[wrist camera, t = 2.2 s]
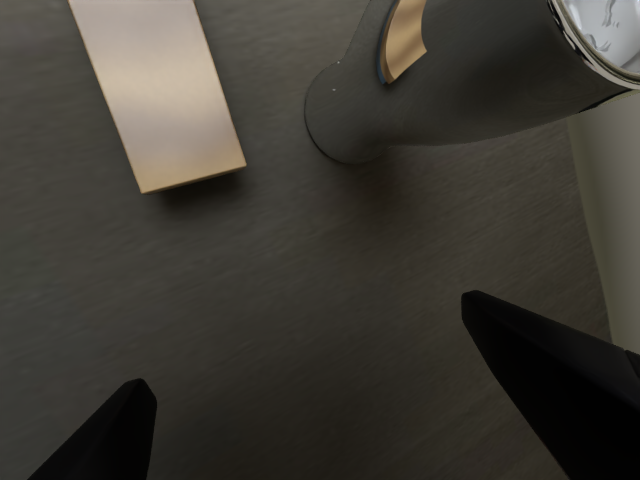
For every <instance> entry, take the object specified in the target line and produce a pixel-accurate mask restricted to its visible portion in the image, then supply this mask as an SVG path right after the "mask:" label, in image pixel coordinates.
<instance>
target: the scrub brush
mask: <svg viewBox="0 0 640 480" xmlns="http://www.w3.org/2000/svg"><path fill="white" fill-rule="evenodd" d="M67 2H68V4H69V7H70V10H71V12H72V15H73V17H74V20H75V23H76V25H77V28H78V30H79V33H80V36H81V38H82V41H83V43H84V46H85V49H86V51H87V54H88V56H89V59H90V62H91V64H92V67H93V69H94V72H95V74H96V77H97V80H98V82H99V85H100V87H101V90H102V93H103V95H104V98H105V100H106V103H107V106H108V108H109V111H110V113H111V116H112V119H113V121H114V124H115V126H116V129H117V131H118V134H119V137H120V139H121V142H122V144H123V147H124V150H125V152H126V155H127V157H128V160H129V163H130V165H131V168H132V170H133V173H134V176H135V178H136V181H137V183H138V186H139V188H140V191H141V193H142V194H147V195H151V194H154V193H158V192H162V191H165V190H169V189H173V188H177V187H180V186H184V185H188V184H192V183H195V182H199V181H203V180H207V179H210V178H214V177H218V176H222V175H225V174H229V173H233V172H236V171H240V170H243V169H244V168H245V167H246V166H247V164H246V161H245V158H244V155H243V152H242V149H241V146H240V142H239V139H238V136H237V133H236V130H235V127H234V124H233V121H232V117H231V114H230V111H229V108H228V105H227V102H226V99H225V96H224V92H223V89H222V86H221V83H220V80H219V77H218V74H217V71H216V67H215V64H214V61H213V58H212V55H211V52H210V49H209V46H208V42H207V39H206V36H205V33H204V30H203V27H202V24H201V21H200V17H199V14H198V11H197V8H196V5H195V2H194V0H67Z"/></svg>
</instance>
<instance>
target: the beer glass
mask: <svg viewBox="0 0 640 480" xmlns="http://www.w3.org/2000/svg"><path fill="white" fill-rule="evenodd" d="M637 93H640V0H370V1H369V3H368V5H367V7H366V9H365V11H364V13H363V16H362V18H361V20H360V22H359V24H358V27H357V29H356V31H355V33H354V36H353V38H352V40H351V42H350V45H349V47H348V49H347V51H346V53H345V55H344V56H343V58H342V59H340V60H338V61H337V62H335V63H333V64H331V65H329V66H328V67H326V68H325V69H324V70H322V71H321V72H320V73H319V74H318V75H317V76H316V78H315V79H314V80H313V82H312V84H311V86H310V88H309V90H308V93H307V97H306V102H305V118H306V123H307V127H308V130H309V132H310V135H311V137H312V138H313V140H314V142H315V143H316V145H317V146H318V147H319V148H320V149H321V150H322V151H323V152H324V153H325V154H326V155H328V156H329V157H331V158H333V159H334V160H337V161H339V162H343V163H347V164H360V163H364V162H367V161H370V160H372V159H374V158H376V157H377V156H379V155H380V154H382V153H383V152H384V151H385V150H387V149H388V148H389V147H392V146H442V145H454V144H466V143H472V142H477V141H482V140H487V139H492V138H497V137H502V136H506V135H509V134H513V133H516V132H520V131H523V130H527V129H531V128H534V127H538V126H541V125H544V124H547V123H551V122H554V121H557V120H560V119H563V118H566V117H569V116H572V115H575V114H578V113H581V112H584V111H587V110H590V109H592V108H595V107H598V106H601V105H604V104H607V103H609V102H612V101H616V100H619V99H622V98H624V97H628V96H631V95H634V94H637Z"/></svg>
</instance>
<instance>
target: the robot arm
mask: <svg viewBox="0 0 640 480" xmlns="http://www.w3.org/2000/svg"><path fill="white" fill-rule="evenodd" d="M461 310H462V320H463V323H464V325H465V327H466V328H467V330H468V332H469V334H470V335H471V337H472V339H473V341H474V342H475V344H476V346H477V348H478V349H479V351H480V353H481V355H482V356H483V358H484V360H485V362H486V363H487V365H488V367H489V368H490V370H491V372H492V373H493V375H494V376H495V378H496V379H497V380H498V382H499V383H500V385H501V386H502V387H503V389H504V390H505V391H506V393H507V394H508V396H509V397H510V398H511V400H512V401H513V403H514V404H515V405H516V407H517V408H518V409H519V411H520V412H521V414H522V415H523V416H524V418H525V419H526V421H527V422H528V423H529V425H530V426H531V427H532V429H533V430H534V432H535V433H536V434H537V436H538V437H539V439H540V440H541V441H542V443H543V444H544V445H545V447H546V448H547V450H548V451H549V452H550V454H551V455H552V457H553V458H554V459H555V461H556V462H557V463H558V465H559V466H560V468H561V469H562V470H563V472H564V473H565V475H566V476H567V477H568V479H569V480H640V355H639V354H636V353H634V352H631V351H629V350H625V351H624V349H623V348H621V347H618V346H616V345H613V344H611V343H608V342H606V341H603V340H601V339H598V338H596V337H594V336H591V335H589V334H586V333H584V332H581V331H579V330H576V329H574V328H571V327H569V326H566V325H564V324H561V323H559V322H556V321H554V320H551V319H549V318H546V317H544V316H541V315H539V314H536V313H534V312H531V311H529V310H526V309H524V308H521V307H519V306H516V305H514V304H511V303H509V302H506V301H504V300H501V299H499V298H496V297H494V296H491V295H489V294H486V293H484V292H481V291H478V290H473V291H470V292H466V293H463V294H462V297H461ZM156 410H157V400H156V397H155V396H154V394H153V393H152V391H151V389H150V388H149V386H148V385H147V383H146V382H145V380H143V379H141V378H138V379H135V380H131V381H127V382H125V383H124V384H123V385H122V386H121V387H120V388H119V389H118V390H117V391H116V392H115V393H114V394H113V395H112V396H111V397H110V398H109V399H108V400H107V401H106V402H105V403H104V404H103V405H102V406H101V407H100V408H99V409H98V410H97V411H96V412H95V413H94V414H93V415H92V416H91V417H90V418H89V419H88V420H87V421H86V422H85V423H84V424H83V425H82V426H81V427H80V428H79V429H78V430H77V431H76V432H75V433H74V434H73V435H72V436H71V437H70V438H69V439H68V440H67V441H66V442H65V443H63V444H62V445H61V446H60V447H59V448H58V449H57V450H56V451H55V452H54V453H53V454H52V455H51V456H50V457H49V458H48V459H47V460H46V461H45V462H44V463H43V464H42V465H41V466H40V467H39V468H38V469H37V470H36V471H35V472H34V473H33V474H32V475H31V476H30V477H29V478H28V479H27V480H146V477H147V472H148V467H149V462H150V456H151V448H152V441H153V433H154V426H155V418H156Z"/></svg>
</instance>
